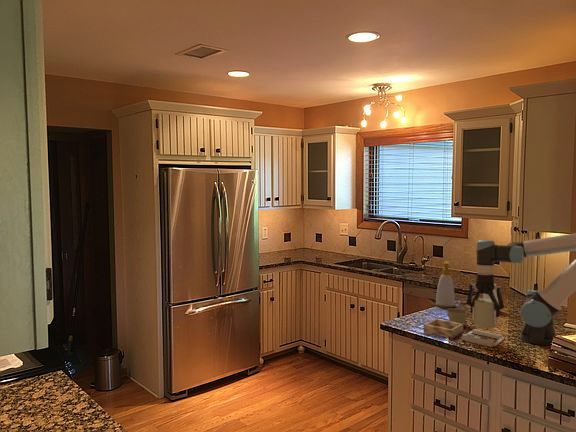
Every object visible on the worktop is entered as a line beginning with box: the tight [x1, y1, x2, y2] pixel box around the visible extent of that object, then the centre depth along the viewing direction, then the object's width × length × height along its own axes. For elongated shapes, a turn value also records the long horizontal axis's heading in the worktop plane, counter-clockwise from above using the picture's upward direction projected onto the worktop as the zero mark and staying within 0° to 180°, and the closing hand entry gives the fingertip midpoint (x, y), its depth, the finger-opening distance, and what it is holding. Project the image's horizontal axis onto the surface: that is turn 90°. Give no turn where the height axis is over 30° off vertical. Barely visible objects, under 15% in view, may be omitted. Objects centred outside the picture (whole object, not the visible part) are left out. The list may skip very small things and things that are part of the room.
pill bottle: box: [483, 283, 499, 303], centre depth 274 cm, size 8×8×15 cm
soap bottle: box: [435, 260, 456, 309], centre depth 283 cm, size 11×12×26 cm
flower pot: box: [446, 308, 468, 325], centre depth 244 cm, size 10×10×7 cm
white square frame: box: [460, 329, 505, 348], centre depth 221 cm, size 15×15×3 cm
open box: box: [423, 318, 464, 339], centre depth 232 cm, size 14×14×4 cm
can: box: [473, 297, 497, 329], centre depth 221 cm, size 9×9×12 cm
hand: (484, 321), depth 221 cm, fingers closed on can, 9 cm apart
